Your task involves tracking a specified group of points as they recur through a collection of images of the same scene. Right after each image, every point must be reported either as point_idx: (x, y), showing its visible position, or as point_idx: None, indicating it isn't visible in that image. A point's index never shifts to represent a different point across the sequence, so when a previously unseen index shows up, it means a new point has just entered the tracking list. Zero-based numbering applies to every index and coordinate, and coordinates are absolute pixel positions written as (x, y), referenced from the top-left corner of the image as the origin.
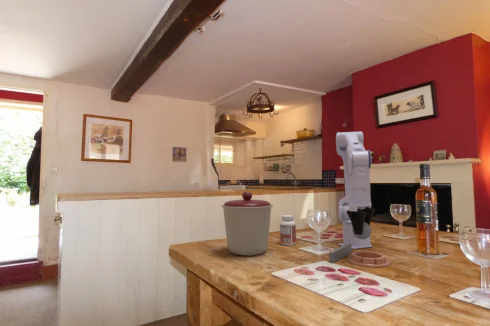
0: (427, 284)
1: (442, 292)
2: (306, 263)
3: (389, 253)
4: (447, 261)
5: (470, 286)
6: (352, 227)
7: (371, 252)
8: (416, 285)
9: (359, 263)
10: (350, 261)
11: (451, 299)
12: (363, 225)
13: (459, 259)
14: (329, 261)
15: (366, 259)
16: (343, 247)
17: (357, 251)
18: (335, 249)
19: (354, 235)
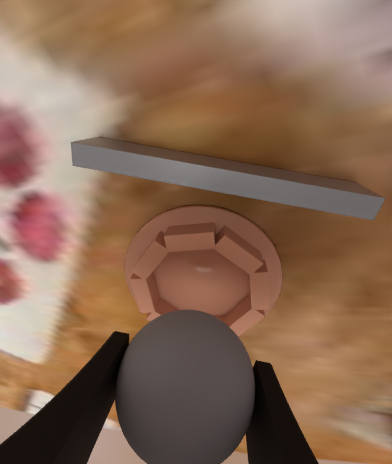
0: (74, 375)
1: (46, 386)
2: (2, 23)
3: (376, 335)
4: (305, 434)
5: (114, 421)
6: (158, 354)
7: (251, 303)
8: (52, 360)
9: (130, 257)
10: (145, 224)
11: (21, 389)
12: (94, 441)
13: (339, 455)
14: (97, 138)
15: (135, 288)
16: (237, 193)
17: (246, 252)
18: (159, 160)
19: (164, 314)
